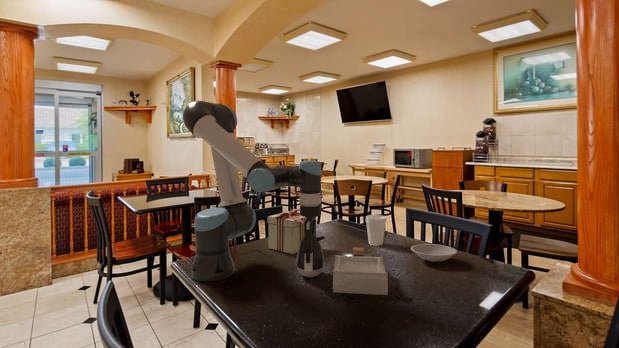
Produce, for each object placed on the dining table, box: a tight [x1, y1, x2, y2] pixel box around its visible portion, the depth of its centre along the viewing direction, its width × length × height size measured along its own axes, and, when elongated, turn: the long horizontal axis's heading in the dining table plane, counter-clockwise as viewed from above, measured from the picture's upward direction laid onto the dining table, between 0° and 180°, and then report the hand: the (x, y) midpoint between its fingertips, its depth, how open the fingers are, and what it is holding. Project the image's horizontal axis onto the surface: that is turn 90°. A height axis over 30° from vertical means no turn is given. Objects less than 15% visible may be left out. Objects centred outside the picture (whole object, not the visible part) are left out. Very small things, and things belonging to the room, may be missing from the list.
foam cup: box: [365, 214, 387, 247], centre depth 150 cm, size 10×9×13 cm
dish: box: [410, 243, 458, 263], centre depth 126 cm, size 18×14×5 cm
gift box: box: [266, 208, 306, 255], centre depth 145 cm, size 17×18×17 cm
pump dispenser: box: [295, 234, 326, 278], centre depth 113 cm, size 10×10×15 cm
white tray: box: [332, 247, 389, 296], centre depth 110 cm, size 17×23×8 cm
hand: (310, 265), depth 114 cm, fingers closed on pump dispenser, 10 cm apart
